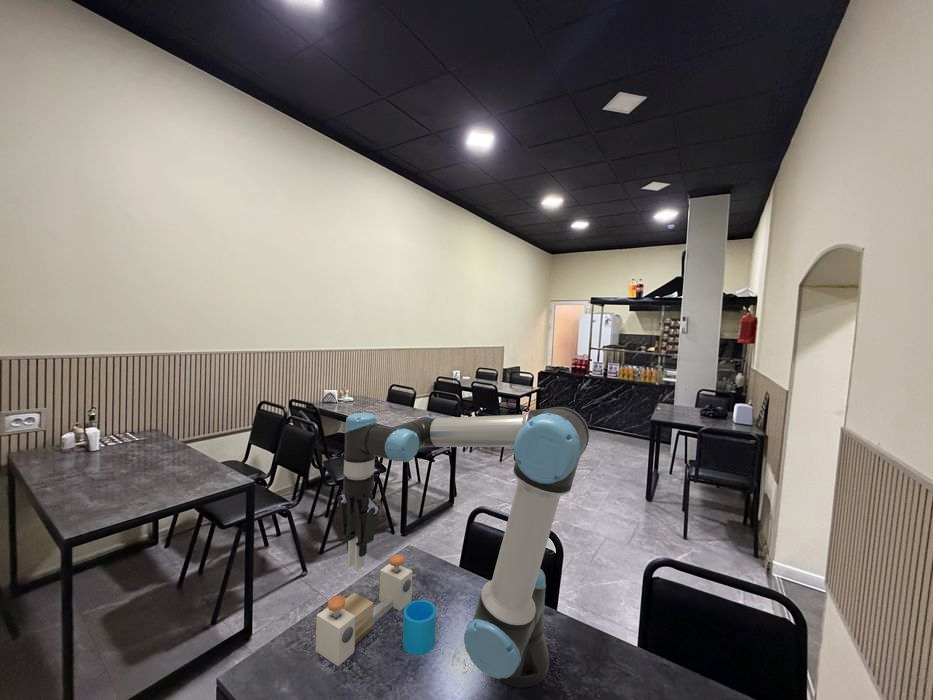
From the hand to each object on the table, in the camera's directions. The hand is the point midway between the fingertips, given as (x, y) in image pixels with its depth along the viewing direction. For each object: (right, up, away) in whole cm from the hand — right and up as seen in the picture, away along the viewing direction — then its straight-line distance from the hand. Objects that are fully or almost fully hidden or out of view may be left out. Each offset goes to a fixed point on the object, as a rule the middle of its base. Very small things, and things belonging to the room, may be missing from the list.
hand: (356, 565), depth 98 cm
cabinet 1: (-4, -18, -5) cm, 19 cm away
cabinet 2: (+7, -18, +14) cm, 24 cm away
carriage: (-1, -18, +1) cm, 18 cm away
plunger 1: (-4, -11, -5) cm, 12 cm away
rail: (+2, -18, +5) cm, 19 cm away
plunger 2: (+8, -11, +14) cm, 19 cm away
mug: (+17, -19, +1) cm, 26 cm away
